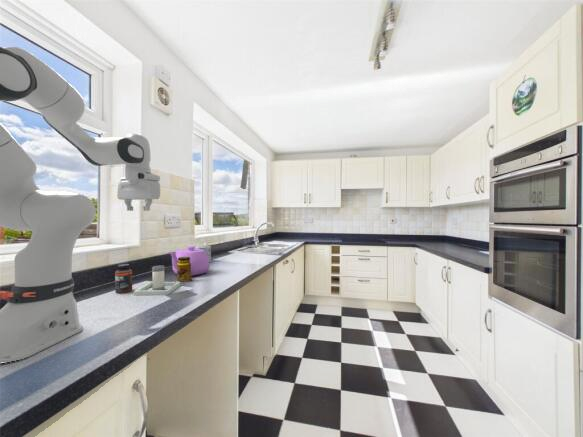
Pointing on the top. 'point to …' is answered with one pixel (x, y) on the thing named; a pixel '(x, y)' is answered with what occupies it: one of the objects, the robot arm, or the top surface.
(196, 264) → the teapot
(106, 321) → the top surface
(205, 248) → the light bulb box
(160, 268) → the salt shaker
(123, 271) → the supplement bottle
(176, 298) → the holder
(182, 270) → the condiment
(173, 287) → the parts tray
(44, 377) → the top surface
